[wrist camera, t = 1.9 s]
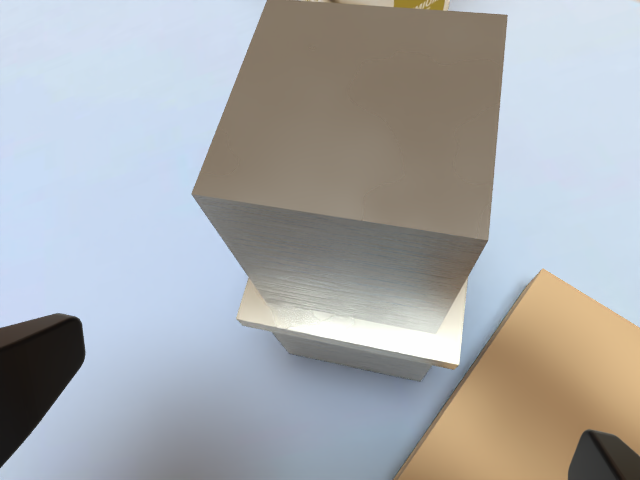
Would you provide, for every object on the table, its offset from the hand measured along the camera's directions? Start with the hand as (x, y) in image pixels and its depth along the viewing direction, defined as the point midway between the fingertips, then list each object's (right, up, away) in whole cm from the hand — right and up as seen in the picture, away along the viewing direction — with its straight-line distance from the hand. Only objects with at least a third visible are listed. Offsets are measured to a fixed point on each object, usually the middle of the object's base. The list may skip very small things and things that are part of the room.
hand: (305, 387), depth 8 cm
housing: (+2, 0, +12) cm, 12 cm away
